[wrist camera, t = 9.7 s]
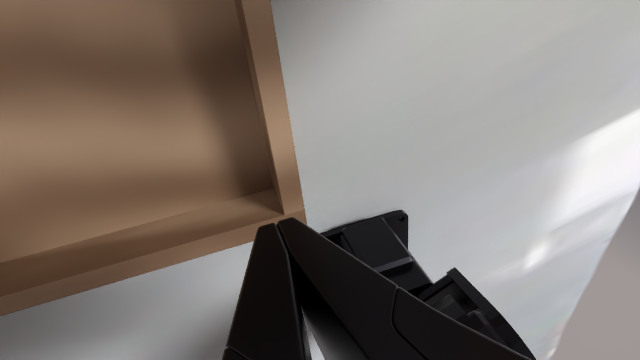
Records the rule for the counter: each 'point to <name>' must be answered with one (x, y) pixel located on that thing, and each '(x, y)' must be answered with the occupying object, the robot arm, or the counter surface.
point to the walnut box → (136, 139)
